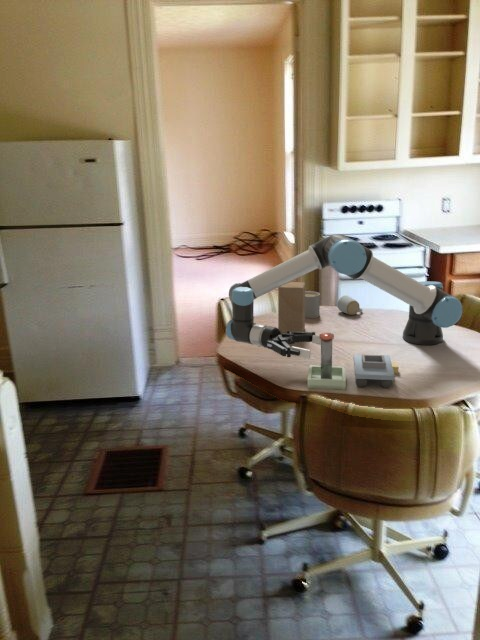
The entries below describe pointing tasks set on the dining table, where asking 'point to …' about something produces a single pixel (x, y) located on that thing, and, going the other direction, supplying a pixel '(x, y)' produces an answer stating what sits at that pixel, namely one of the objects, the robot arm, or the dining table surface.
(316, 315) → the grey cylindrical piece
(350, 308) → the ceramic mug
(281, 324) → the wooden block
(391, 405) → the dining table surface
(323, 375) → the pin
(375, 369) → the cart
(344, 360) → the dining table surface
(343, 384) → the tray
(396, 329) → the dining table surface
